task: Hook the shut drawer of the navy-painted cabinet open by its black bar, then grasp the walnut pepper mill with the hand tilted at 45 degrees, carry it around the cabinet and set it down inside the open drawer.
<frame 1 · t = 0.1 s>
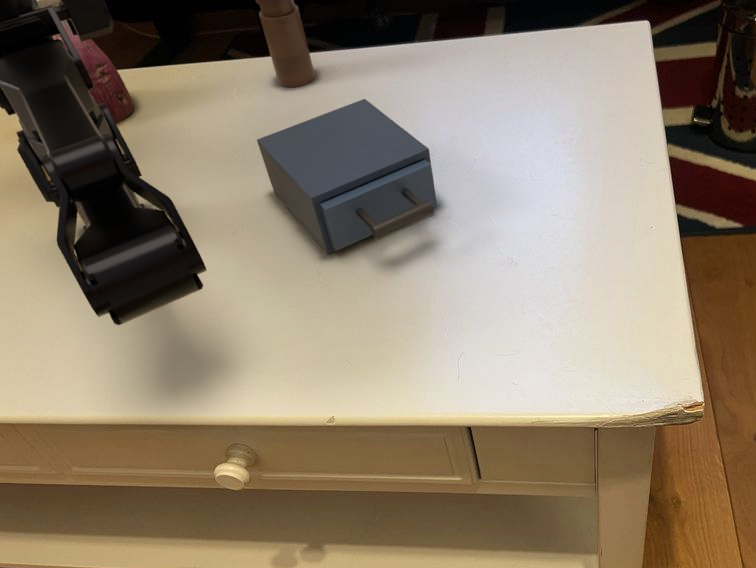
hand: (1, 3, 80), 17 cm above the table, tool horizontal, fingers open, 9 cm apart
cabinet: (353, 199, 77), on the table
vegetable: (95, 115, 97), on the table
drawer: (364, 189, 72), point 3 cm above the table, slide at 0.0 cm, touching cabinet
pepper mill: (296, 78, 98), on the table
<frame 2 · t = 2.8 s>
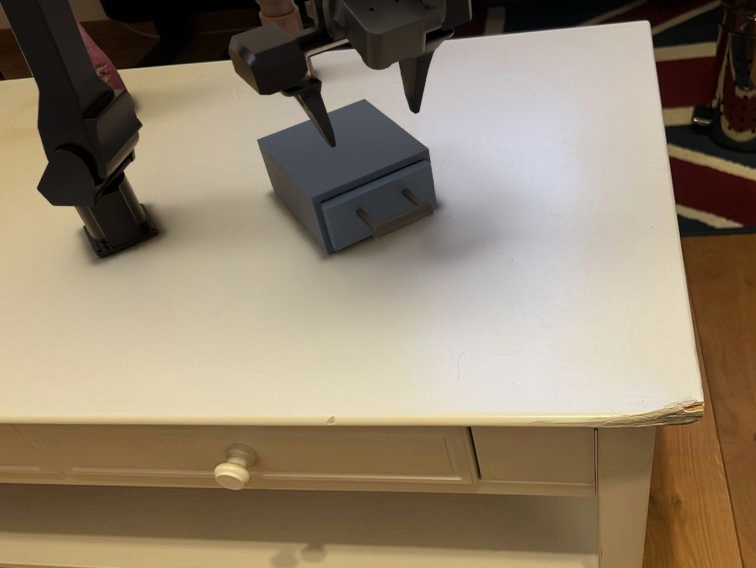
hand: (374, 128, 63), 12 cm above the table, tool pointing down, fingers open, 8 cm apart
nothing on the table moved.
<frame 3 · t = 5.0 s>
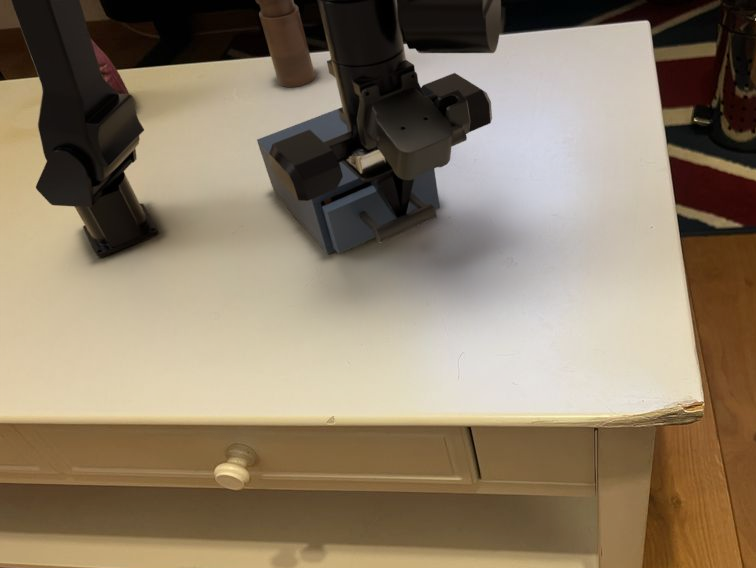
hand: (399, 216, 67), 4 cm above the table, tool pointing down, fingers closed, pressing on drawer
drawer: (367, 191, 72), point 3 cm above the table, slide at 0.6 cm, touching gripper
everything else where it was.
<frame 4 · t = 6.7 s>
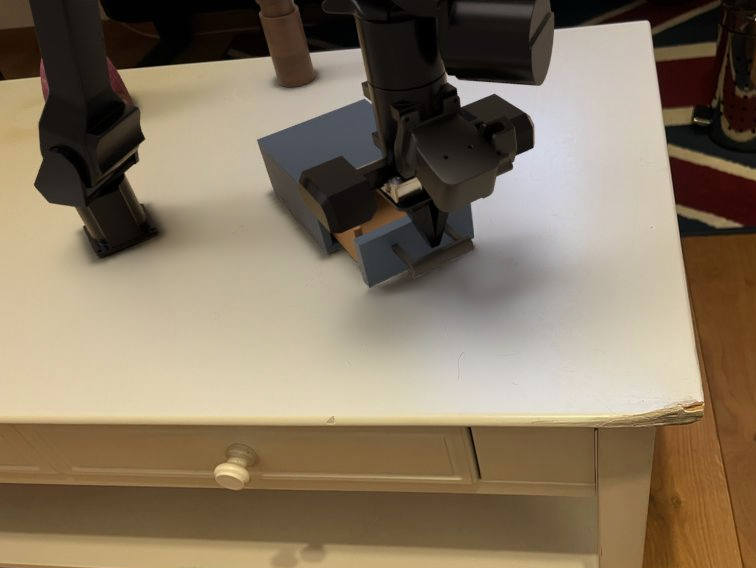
hand: (433, 245, 63), 4 cm above the table, tool pointing down, fingers closed
drawer: (398, 221, 68), point 3 cm above the table, slide at 6.8 cm
everything else where it was.
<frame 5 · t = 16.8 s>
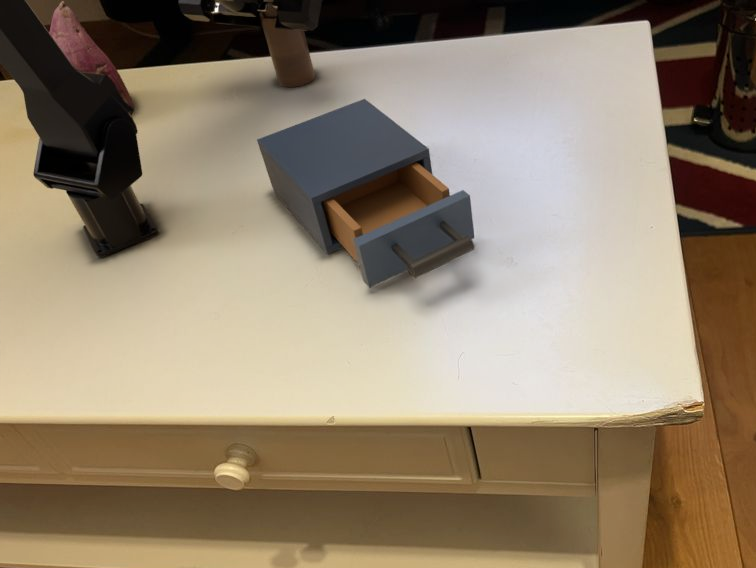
hand: (289, 25, 95), 7 cm above the table, tool tilted 45°, fingers closed on pepper mill, 5 cm apart
pepper mill: (296, 78, 98), on the table, touching gripper
everything else where it was.
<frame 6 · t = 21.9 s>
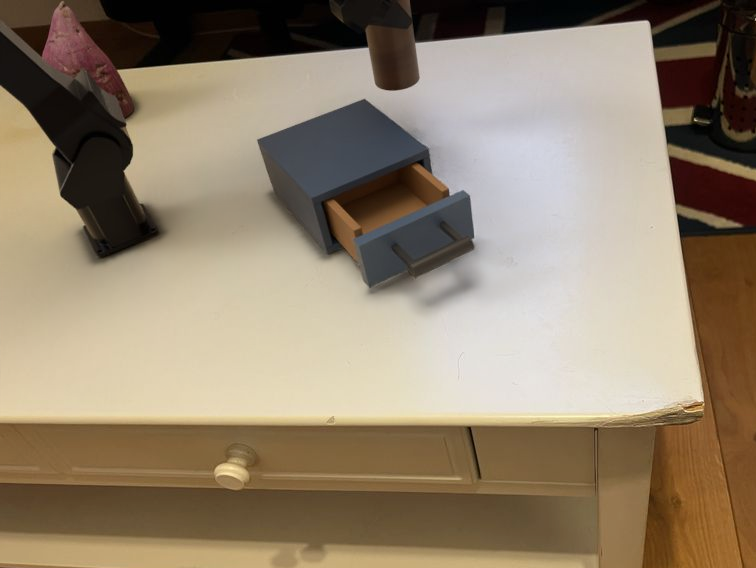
hand: (399, 16, 76), 13 cm above the table, tool tilted 45°, fingers closed on pepper mill, 5 cm apart
pepper mill: (397, 80, 81), point 7 cm above the table, touching gripper
everything else where it was.
when the fingers open (9 cm above the table, at t = 27.0 s): pepper mill stays where it is, resting on drawer.
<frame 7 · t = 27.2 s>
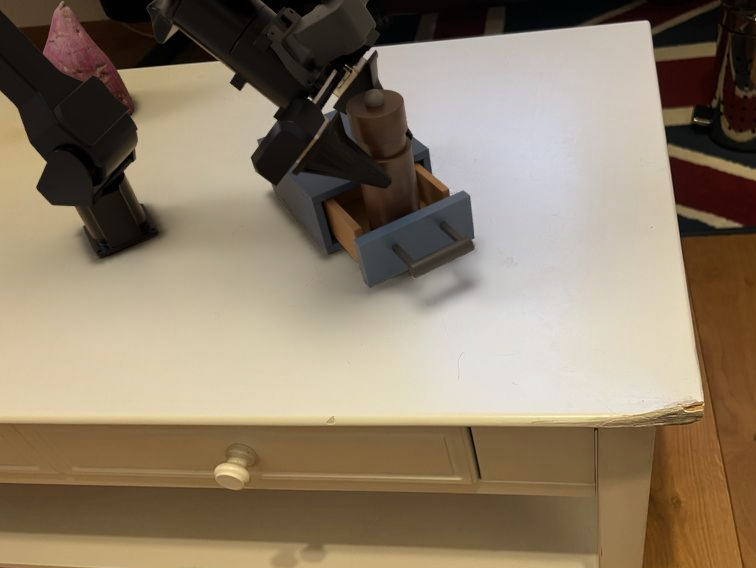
hand: (400, 161, 63), 10 cm above the table, tool tilted 45°, fingers open, 7 cm apart
drawer: (398, 221, 68), point 3 cm above the table, slide at 6.9 cm, touching pepper mill
pepper mill: (397, 230, 69), point 2 cm above the table, touching drawer
everything else where it was.
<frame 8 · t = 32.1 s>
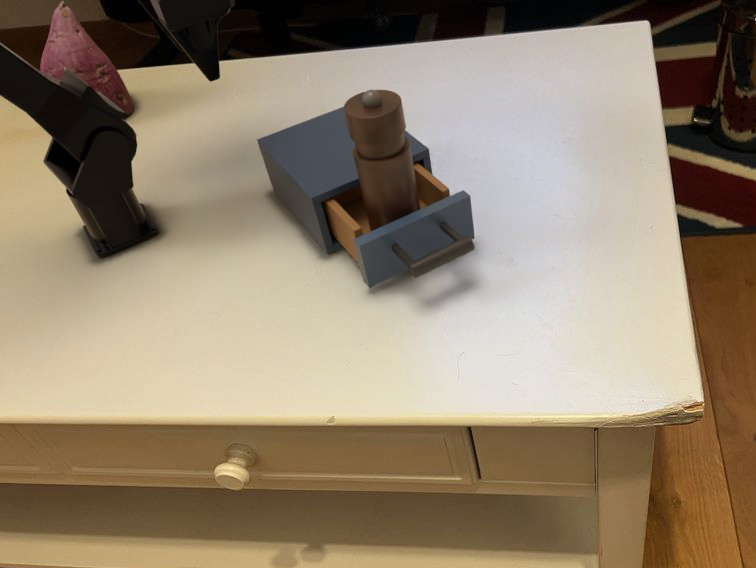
hand: (199, 64, 73), 13 cm above the table, tool pointing down, fingers open, 9 cm apart
nothing on the table moved.
at the end: drawer slide at 6.9 cm; pepper mill inside the target area in the drawer (5.2 cm from its centre), point 2.0 cm above the cabinet's base; the gripper is holding nothing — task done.
